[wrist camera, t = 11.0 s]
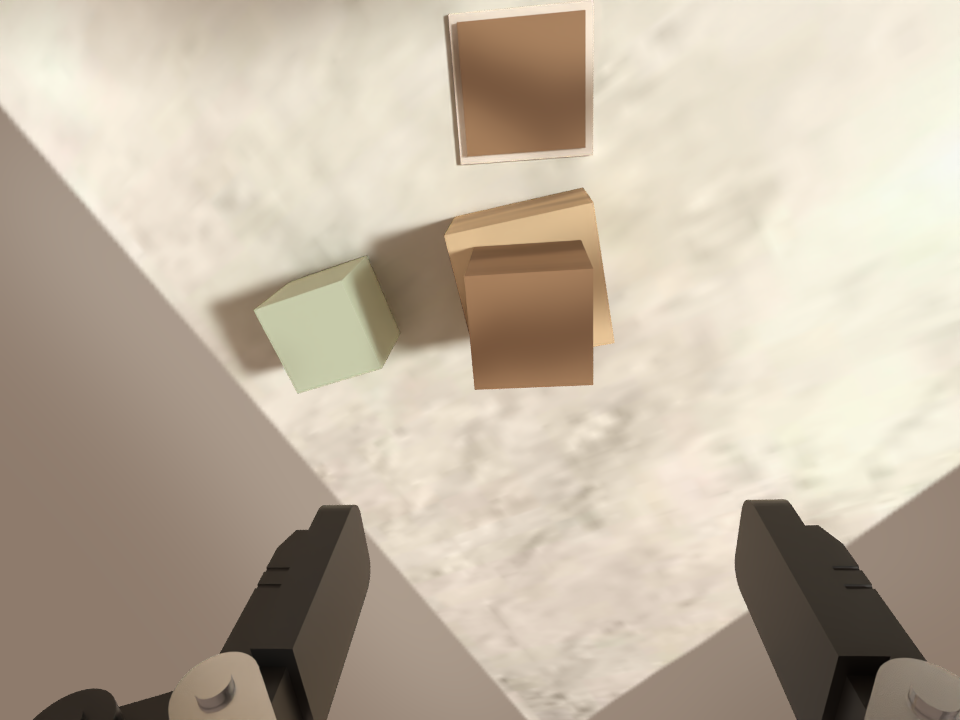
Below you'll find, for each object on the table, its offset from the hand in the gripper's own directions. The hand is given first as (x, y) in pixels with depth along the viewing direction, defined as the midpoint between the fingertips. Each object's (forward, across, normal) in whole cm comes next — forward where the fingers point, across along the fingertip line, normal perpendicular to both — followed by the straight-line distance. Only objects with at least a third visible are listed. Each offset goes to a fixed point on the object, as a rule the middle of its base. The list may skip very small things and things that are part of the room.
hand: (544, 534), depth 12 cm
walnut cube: (+17, 0, 0) cm, 17 cm away
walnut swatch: (+22, 0, -9) cm, 24 cm away
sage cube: (+22, +11, +2) cm, 25 cm away
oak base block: (+22, 0, 0) cm, 22 cm away
